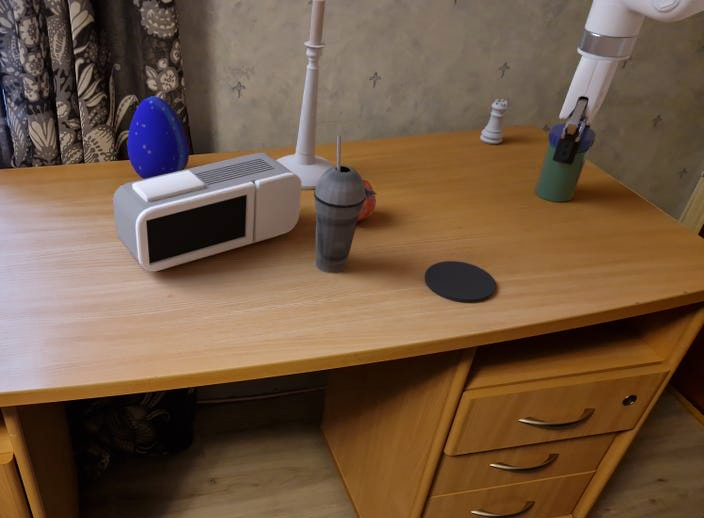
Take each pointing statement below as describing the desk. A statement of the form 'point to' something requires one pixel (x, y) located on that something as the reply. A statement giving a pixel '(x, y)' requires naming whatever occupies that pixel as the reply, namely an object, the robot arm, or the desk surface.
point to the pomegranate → (367, 201)
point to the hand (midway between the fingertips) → (567, 153)
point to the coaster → (460, 281)
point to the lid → (586, 137)
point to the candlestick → (310, 111)
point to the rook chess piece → (495, 123)
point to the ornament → (156, 140)
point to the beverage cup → (337, 214)
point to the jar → (559, 176)
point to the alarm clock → (206, 210)
